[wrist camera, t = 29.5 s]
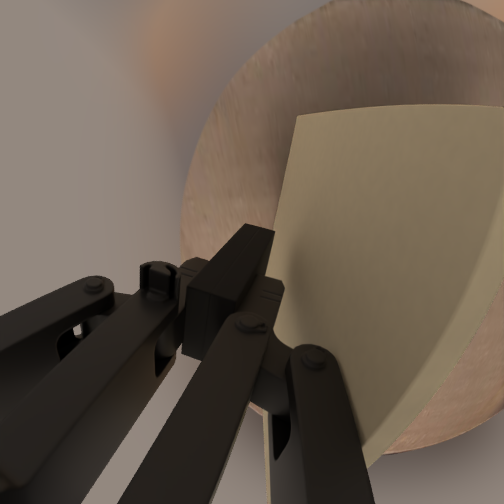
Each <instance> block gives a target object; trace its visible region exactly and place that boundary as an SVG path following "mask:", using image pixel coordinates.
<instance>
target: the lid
mask: <svg viewBox="0 0 504 504" xmlns="http://www.w3.org/2000/svg"><path fill="white" fill-rule="evenodd" d="M273 231H275V236H274V240H273V244H272V249H271V253H270V257H269V262H268V266H267V270H266V274H265V276H268V277H271V278H275V279H278V280H282V282H283V284H284V287H285V290H284V294H283V298H282V301H281V305H280V308H279V312H278V315H277V319H276V322H275V325H274V328H273V330H274V333H275V335H276V336H277V338H278V339H279V340H280V341H281V342H282V343H284V344H286V345H287V346H289V347H291V348H293V349H294V348H295V347H296V346H299V345H302V344H313V345H318V346H321V347H323V348H325V349H327V350H328V351H329V352H331V353H332V354H333V355H334V356H335V358H336V360H337V362H338V365H339V368H340V372H341V375H342V378H343V382H344V385H345V389H346V392H347V396H348V399H349V403H350V406H351V410H352V414H353V417H354V421H355V425H356V428H357V432H358V436H359V440H360V443H361V447H362V451H363V455H364V459H365V463H366V467H367V468H368V467H369V466H371V465H372V463H374V462H375V461H376V460H377V459H378V458H379V457H380V456H381V455H382V454H383V453H384V452H385V451H386V450H387V449H388V448H389V447H390V446H391V445H392V444H393V443H394V442H395V441H396V439H397V438H398V437H399V436H400V435H401V434H402V433H403V432H404V431H405V430H406V429H407V427H408V426H409V425H410V424H411V423H412V422H413V421H414V419H415V418H416V417H417V416H418V415H419V413H420V412H421V411H422V410H423V409H424V407H425V406H426V405H427V404H428V402H429V401H430V400H431V398H432V397H433V396H434V395H435V393H436V392H437V391H438V389H439V388H440V387H441V385H442V384H443V382H444V381H445V380H446V378H447V377H448V375H449V374H450V373H451V371H452V370H453V368H454V367H455V365H456V364H457V362H458V361H459V359H460V358H461V356H462V355H463V353H464V351H465V350H466V348H467V347H468V345H469V343H470V342H471V340H472V338H473V337H474V335H475V333H476V332H477V330H478V328H479V326H480V325H481V323H482V321H483V319H484V317H485V315H486V314H487V312H488V310H489V308H490V306H491V304H492V302H493V300H494V298H495V296H496V294H497V292H498V290H499V288H500V285H501V283H502V281H503V279H504V107H496V106H482V105H460V104H416V105H392V106H376V107H364V108H353V109H344V110H335V111H327V112H319V113H312V114H305V115H299V116H297V119H296V124H295V129H294V134H293V139H292V143H291V148H290V153H289V157H288V162H287V167H286V171H285V176H284V181H283V185H282V190H281V194H280V199H279V204H278V208H277V213H276V217H275V222H274V226H273ZM263 427H264V447H265V469H266V490H267V504H271V497H270V467H269V440H268V412H267V411H266V410H264V409H263Z"/></svg>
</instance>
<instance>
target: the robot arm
mask: <svg viewBox="0 0 504 504" xmlns="http://www.w3.org/2000/svg"><path fill="white" fill-rule="evenodd" d="M274 236H275V231H273V230H269V229H265V228H262V227H258V226H254V225H250V224H246V223H245V224H244V225H243V226H242V227H241V228H240V229H239V230H238V231H237V232H236V233H235V234H234V236H233V237H232V238H231V239H230V240H229V241H228V242H227V243H226V244H225V245H224V246H223V247H222V248H221V249H220V250H219V251H218V253H217V254H216V255H215V256H214V257H213V258H212V259H211V260H210V261H208V260H205V259H201V258H198V257H195V258H192V259H190V260H187V261H185V262H184V263H183V264H182V265H181V266H180V267H179V268H177V267H176V266H175V265H173V264H170V263H167V262H162V261H152V262H147V263H144V264H142V265H140V289H139V290H138V291H137V292H136V293H135V294H133V295H129V294H123V293H116V292H114V285H113V282H112V281H111V280H110V279H108V278H106V277H102V276H88V277H85V278H82V279H80V280H77V281H75V282H73V283H71V284H68V285H66V286H64V287H62V288H59V289H58V290H55V291H53V292H51V293H49V294H46V295H44V296H42V297H40V298H38V299H36V300H33V301H31V302H29V303H27V304H25V305H23V306H21V307H19V308H16V309H15V310H12V311H10V312H8V313H6V314H4V315H2V316H0V504H81V503H82V501H83V500H84V498H85V497H86V495H87V494H88V492H89V491H90V489H91V488H92V486H93V485H94V483H95V482H96V480H97V478H98V477H99V476H100V474H101V473H102V471H103V470H104V468H105V467H106V465H107V464H108V462H109V461H110V459H111V457H112V456H113V455H114V453H115V452H116V450H117V449H118V447H119V445H120V444H121V442H122V441H123V440H124V438H125V437H126V435H127V434H128V432H129V431H130V429H131V428H132V426H133V425H134V423H135V422H136V420H137V419H138V417H139V416H140V414H141V413H142V411H143V410H144V408H145V407H146V405H147V404H148V402H149V400H150V399H151V398H152V396H153V395H154V393H155V392H156V390H157V389H158V387H159V386H160V384H161V383H162V381H163V380H164V378H165V377H166V375H167V374H168V372H169V371H170V369H171V368H172V366H173V365H174V363H175V360H176V350H177V349H178V348H179V346H180V345H181V343H182V352H181V353H182V354H184V355H186V356H189V357H192V358H195V359H197V360H200V361H202V362H201V363H200V365H199V367H198V368H197V370H196V372H195V373H194V375H193V377H192V379H191V380H190V382H189V384H188V385H187V387H186V389H185V391H184V392H183V394H182V396H181V397H180V399H179V401H178V403H177V404H176V406H175V408H174V409H173V411H172V413H171V415H170V416H169V418H168V419H167V421H166V423H165V425H164V426H163V428H162V430H161V431H160V433H159V435H158V437H157V438H156V440H155V442H154V443H153V445H152V447H151V448H150V450H149V451H148V453H147V455H146V456H145V458H144V460H143V462H142V463H141V465H140V467H139V468H138V470H137V472H136V473H135V475H134V477H133V478H132V480H131V482H130V483H129V485H128V487H127V488H126V490H125V492H124V493H123V495H122V496H121V498H120V500H119V501H118V503H117V504H211V503H212V501H213V498H214V496H215V493H216V490H217V488H218V485H219V483H220V480H221V478H222V475H223V473H224V470H225V467H226V465H227V462H228V460H229V457H230V454H231V452H232V449H233V446H234V444H235V441H236V438H237V435H238V433H239V430H240V427H241V424H242V422H243V419H244V416H245V413H246V410H247V408H248V405H249V403H250V401H251V402H252V403H254V404H256V405H257V406H259V407H261V408H262V409H264V410H266V411H267V412H268V440H269V467H270V497H271V504H375V502H374V497H373V493H372V488H371V484H370V480H369V476H368V472H367V467H366V463H365V459H364V455H363V451H362V447H361V443H360V440H359V436H358V432H357V428H356V425H355V421H354V417H353V414H352V410H351V406H350V403H349V399H348V396H347V392H346V389H345V385H344V382H343V378H342V375H341V372H340V368H339V365H338V362H337V360H336V358H335V356H334V355H333V354H332V353H331V352H329V351H328V350H327V349H325V348H323V347H321V346H318V345H313V344H302V345H299V346H296V347H295V348H294V349H293V348H291V347H289V346H287V345H286V344H284V343H282V342H281V341H280V340H279V339H278V338H277V336H276V335H275V333H274V330H273V328H274V325H275V322H276V319H277V315H278V312H279V308H280V305H281V301H282V298H283V294H284V290H285V287H284V284H283V282H282V280H278V279H275V278H271V277H268V276H265V274H266V270H267V266H268V262H269V257H270V253H271V249H272V244H273V240H274ZM79 324H80V327H81V334H80V335H74V331H73V328H74V327H75V326H77V325H79Z"/></svg>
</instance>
